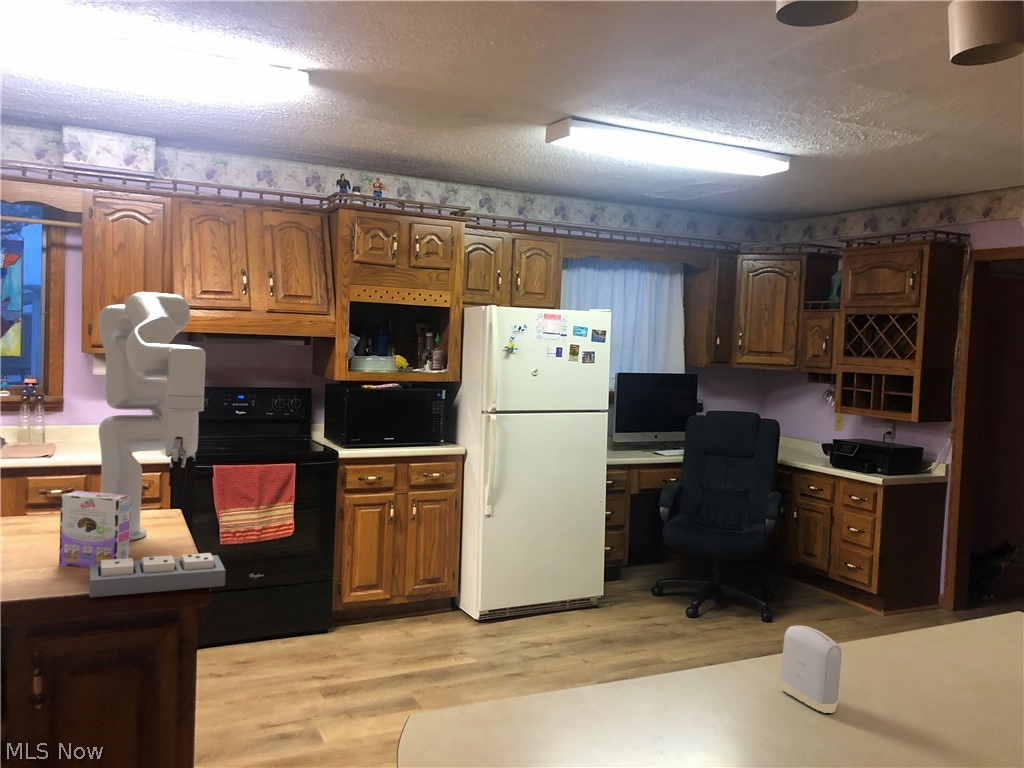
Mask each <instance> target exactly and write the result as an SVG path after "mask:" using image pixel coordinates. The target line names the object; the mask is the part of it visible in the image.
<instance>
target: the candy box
mask: <svg viewBox="0 0 1024 768" xmlns="http://www.w3.org/2000/svg"><path fill="white" fill-rule="evenodd" d="M59 516H60V519H59V520H60V522H59V557H58V558H59V559H58V566H59V567H61V566H62V567H69V568H71V567H72V568H83V569H84V568H85V569H90V564H94V563H101V560H110V559H125V558H130V545H131V544H130V542H131V540H130V522H131V495H122V494H109V493H101V492H96V491H83V490H75V491H72V492H69V493H67V492H66V493H64V494H61V495H60V515H59Z"/></svg>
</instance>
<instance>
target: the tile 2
mask: <svg viewBox="0 0 1024 768" xmlns="http://www.w3.org/2000/svg"><path fill="white" fill-rule="evenodd" d="M173 558H174V557H173V555H159V556H158V555H157V556H145V557H142V559H141V560H142V569H143V573H148V572H161V571H175V562H174V559H173Z"/></svg>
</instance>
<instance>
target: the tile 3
mask: <svg viewBox="0 0 1024 768" xmlns="http://www.w3.org/2000/svg"><path fill="white" fill-rule="evenodd" d="M212 555H213V554H212V552H202V553H201V552H200V553H189V554H186V553H185V554H181V558H182V563H181V564H182V566H183V569H184V570H188V569H201V568H214V559H213V557H212Z"/></svg>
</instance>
